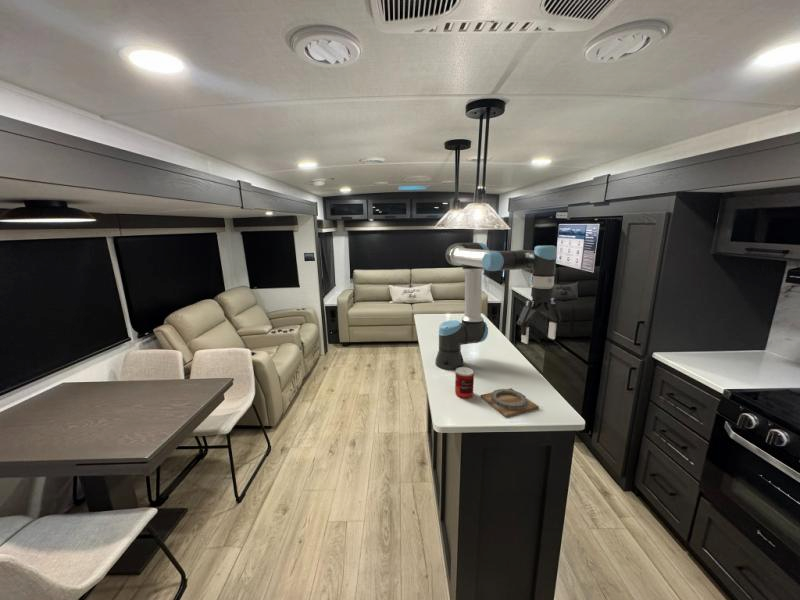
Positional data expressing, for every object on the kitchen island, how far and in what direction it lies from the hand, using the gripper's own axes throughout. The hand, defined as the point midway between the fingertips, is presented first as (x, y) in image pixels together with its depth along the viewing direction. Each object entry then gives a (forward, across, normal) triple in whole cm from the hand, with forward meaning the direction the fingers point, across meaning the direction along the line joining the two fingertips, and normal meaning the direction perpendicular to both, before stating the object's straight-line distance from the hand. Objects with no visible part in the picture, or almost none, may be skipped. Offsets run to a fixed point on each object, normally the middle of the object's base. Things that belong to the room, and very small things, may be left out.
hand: (538, 340), depth 118 cm
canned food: (+27, -22, +17) cm, 39 cm away
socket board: (+27, -9, +4) cm, 29 cm away
